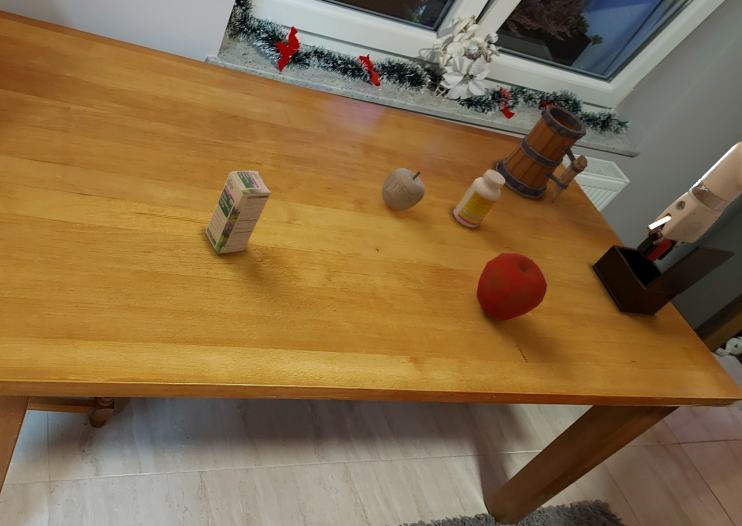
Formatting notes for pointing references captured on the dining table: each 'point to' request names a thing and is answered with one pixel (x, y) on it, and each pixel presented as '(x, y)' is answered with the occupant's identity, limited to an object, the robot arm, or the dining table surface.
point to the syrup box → (237, 211)
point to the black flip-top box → (631, 280)
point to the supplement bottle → (479, 199)
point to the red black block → (660, 249)
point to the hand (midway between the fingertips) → (649, 253)
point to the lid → (689, 269)
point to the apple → (510, 286)
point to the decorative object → (402, 189)
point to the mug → (545, 155)
